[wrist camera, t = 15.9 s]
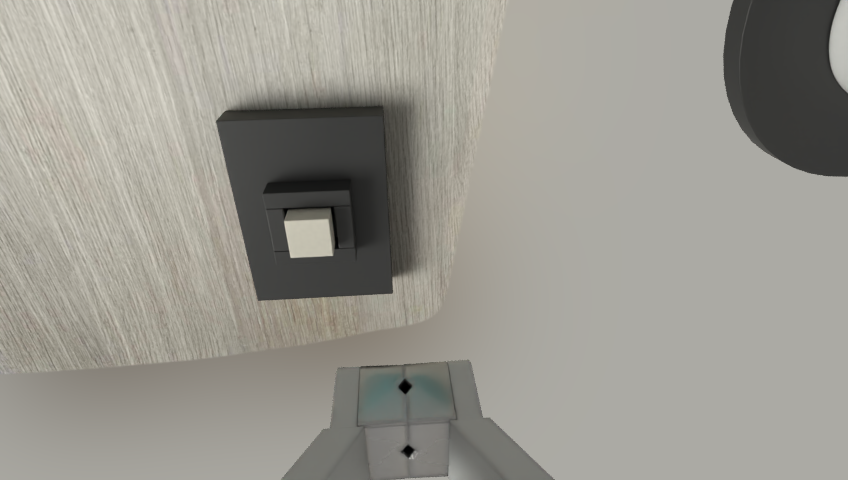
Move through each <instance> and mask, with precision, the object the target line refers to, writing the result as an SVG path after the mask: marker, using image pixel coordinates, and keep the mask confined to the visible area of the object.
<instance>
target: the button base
mask: <svg viewBox="0 0 848 480" xmlns="http://www.w3.org/2000/svg"><path fill="white" fill-rule="evenodd" d="M216 123H217V128H218V132H219V136H220V140H221V145H222V149H223V153H224V158H225V162H226V166H227V170H228V175H229V179H230V183H231V187H232V192H233V196H234V200H235V205H236V209H237V213H238V217H239V222H240V226H241V230H242V234H243V239H244V243H245V247H246V252H247V256H248V260H249V264H250V269H251V273H252V277H253V282H254V286H255V290H256V294H257V299H258V301H262V300H280V299H299V298H317V297H336V296H355V295H373V294H392V293H393V285H392V264H391V245H390V227H389V208H388V190H387V171H386V152H385V134H384V115H383V106H375V107H344V108H313V109H282V110H250V111H225V112H224V113H223V114H222V115H221V116H220V117H219V118H218V120H217V121H216ZM329 207H330V208H331V213H332V221H333V229H334V237H335V248H334V254H333V256H320V257H300V258H291V257H290V252H289V246H288V241H287V235H286V230H285V224H284V220H285V217H286V214H287V211H288V209H306V208H329Z"/></svg>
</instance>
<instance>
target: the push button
mask: <svg viewBox="0 0 848 480" xmlns="http://www.w3.org/2000/svg"><path fill="white" fill-rule="evenodd" d="M284 224H285V230H286V235H287V241H288V246H289V252H290V257H291V258H300V257H320V256H333V254H334V248H335V237H334V229H333V221H332V213H331V208H330V207H329V208H306V209H288V211H287V214H286V217H285V220H284Z"/></svg>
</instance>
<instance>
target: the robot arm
mask: <svg viewBox="0 0 848 480" xmlns="http://www.w3.org/2000/svg"><path fill="white" fill-rule="evenodd" d="M829 59H830V65H831V69H832V72H833V74H834V77H835V79H836V80H837V82H838V83H839V85H840V86H841V87H842V88H843V89H844V90H845V91H846V92H847V93H848V0H840V3H839V5H838V7H837V10H836V13H835V16H834V19H833V23H832V27H831V32H830V39H829ZM441 476H448V478H449V480H554V479H553V478H552V477H551V476H550V475H549V474H548V473H547V472H546V471H545V470H544V469H543V468H541V466H540V465H539V464H538V463H536V462H535V461H534V460H533V459H532V458H531V457H530V456H529V455H528V454H527V453H526V452H525V451H524V450H523V449H522V448H521V447H520V446H519V445H518V444H517V443H515V441H513V440H512V439H511V438H510V437H509V436H508V435H507V434H506V433H505V432H504V431H503V430H502V429H501V428H500V427H499V426H497V424H496V423H494V421H493V420H491V419H490V418H483V416H482V411H481V407H480V402H479V398H478V393H477V388H476V384H475V379H474V374H473V370H472V365H471V362H470V361H469V360H458V361H448V362H446V361H444V362H430V363H416V364H404V365H389V366H388V365H386V366H361V367H343V368H338V369H337V371H336V377H335V386H334V395H333V406H332V414H331V425H330V429H323V430H322V431H321V433H320V434H319V435H318V436H317V437H316V438H315V440H314V441H313V442H312V443H311V445H310V446H309V447H308V448H307V449H306V450H305V452H304V453H303V454H302V455H301V456H300V458H299V459H298V460H297V461H296V462H295V464H294V465H293V466H292V467H291V468H290V470H289V471H288V472H287V473H286V474H285V476H284V477H283V478H282V479H281V480H395V479H404V478H409V477H410V478H420V477H441Z"/></svg>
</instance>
